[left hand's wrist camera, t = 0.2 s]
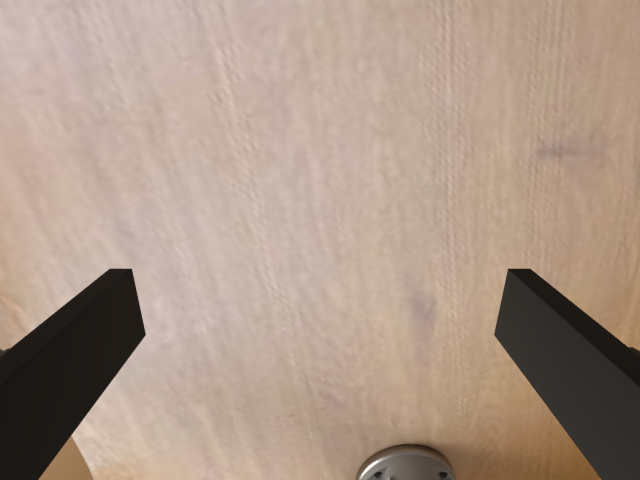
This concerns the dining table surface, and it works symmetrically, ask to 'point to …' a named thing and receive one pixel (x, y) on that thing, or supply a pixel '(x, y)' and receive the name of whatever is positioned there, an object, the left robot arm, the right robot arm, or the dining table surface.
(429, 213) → the dining table surface
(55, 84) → the dining table surface
